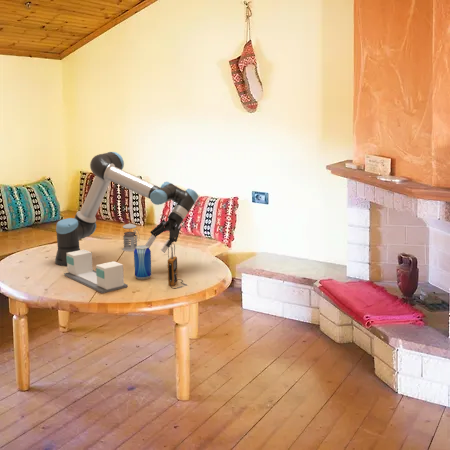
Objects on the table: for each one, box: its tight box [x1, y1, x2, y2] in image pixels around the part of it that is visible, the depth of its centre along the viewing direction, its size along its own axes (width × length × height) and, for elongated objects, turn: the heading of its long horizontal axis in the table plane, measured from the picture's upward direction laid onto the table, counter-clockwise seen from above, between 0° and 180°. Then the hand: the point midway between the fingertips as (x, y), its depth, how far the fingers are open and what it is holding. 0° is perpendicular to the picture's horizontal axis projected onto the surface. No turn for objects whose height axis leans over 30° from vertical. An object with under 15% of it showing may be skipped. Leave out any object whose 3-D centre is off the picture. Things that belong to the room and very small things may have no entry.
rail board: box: [63, 249, 128, 294], centre depth 322 cm, size 38×14×12 cm, turn 41°
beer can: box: [133, 244, 152, 280], centre depth 327 cm, size 8×8×16 cm
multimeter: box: [167, 243, 189, 289], centre depth 316 cm, size 15×10×20 cm
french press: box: [121, 207, 140, 252], centre depth 380 cm, size 10×12×25 cm
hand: (154, 248), depth 330 cm, fingers open, 13 cm apart
